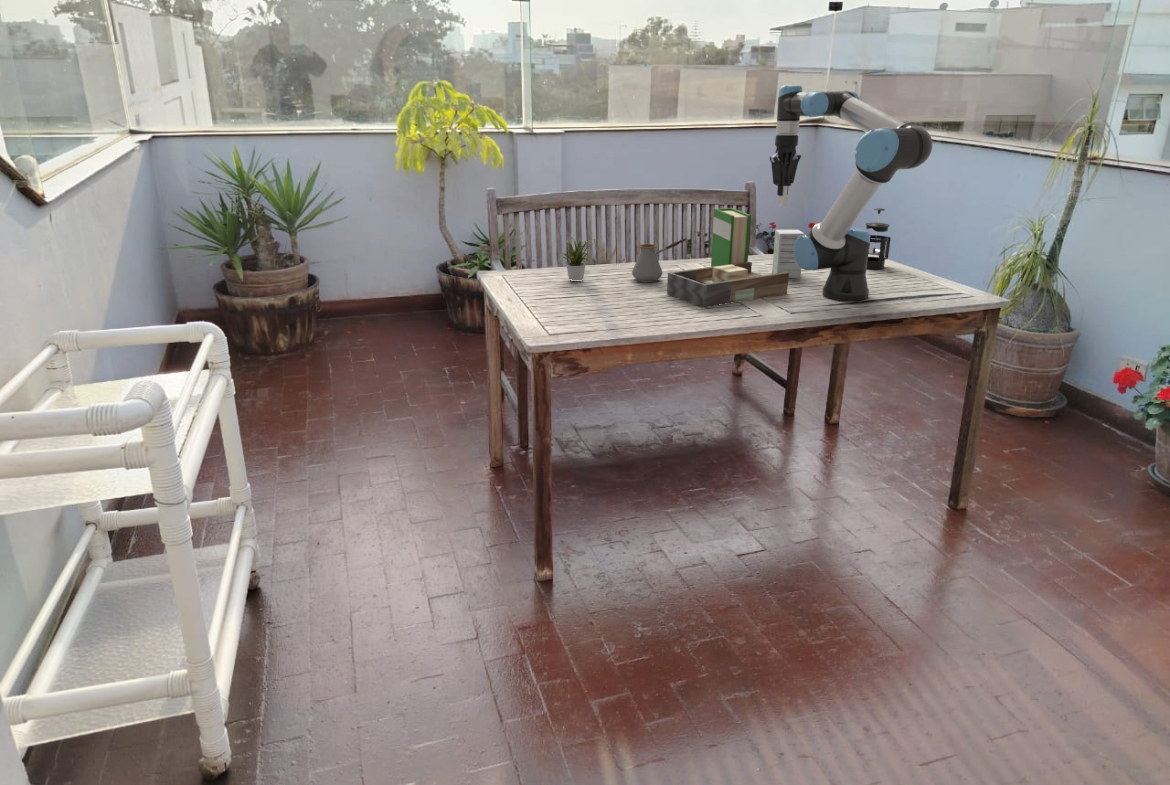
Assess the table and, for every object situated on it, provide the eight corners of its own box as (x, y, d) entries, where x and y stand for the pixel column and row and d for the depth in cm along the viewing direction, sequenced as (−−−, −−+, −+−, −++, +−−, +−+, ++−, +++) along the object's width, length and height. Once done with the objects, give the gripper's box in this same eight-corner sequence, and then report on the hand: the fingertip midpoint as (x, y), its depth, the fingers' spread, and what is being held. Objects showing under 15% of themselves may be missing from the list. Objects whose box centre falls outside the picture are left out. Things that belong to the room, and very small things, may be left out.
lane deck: (786, 294, 278) (788, 272, 275) (703, 307, 262) (704, 285, 259) (747, 281, 295) (749, 261, 292) (667, 293, 279) (667, 272, 276)
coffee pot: (636, 284, 292) (637, 243, 287) (627, 277, 302) (628, 237, 297) (691, 281, 296) (693, 240, 291) (681, 274, 307) (683, 235, 301)
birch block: (746, 283, 276) (747, 269, 274) (728, 286, 272) (729, 272, 270) (730, 278, 283) (731, 264, 281) (712, 281, 279) (712, 267, 278)
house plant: (605, 278, 300) (605, 235, 295) (588, 286, 289) (588, 241, 283) (571, 274, 307) (571, 232, 301) (553, 282, 295) (553, 238, 289)
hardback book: (746, 280, 297) (751, 215, 289) (727, 281, 296) (731, 215, 287) (728, 270, 313) (732, 208, 305) (710, 271, 312) (714, 208, 303)
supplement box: (801, 278, 300) (805, 233, 294) (776, 278, 300) (780, 233, 294) (795, 272, 309) (799, 229, 302) (771, 272, 309) (774, 229, 303)
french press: (868, 270, 311) (875, 211, 303) (853, 265, 320) (860, 207, 311) (893, 268, 315) (901, 209, 306) (877, 263, 323) (885, 206, 315)
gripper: (792, 133, 277) (787, 202, 285) (765, 134, 270) (760, 205, 279) (809, 133, 271) (802, 204, 279) (781, 135, 265) (776, 207, 273)
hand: (781, 205), depth 279 cm, fingers closed
